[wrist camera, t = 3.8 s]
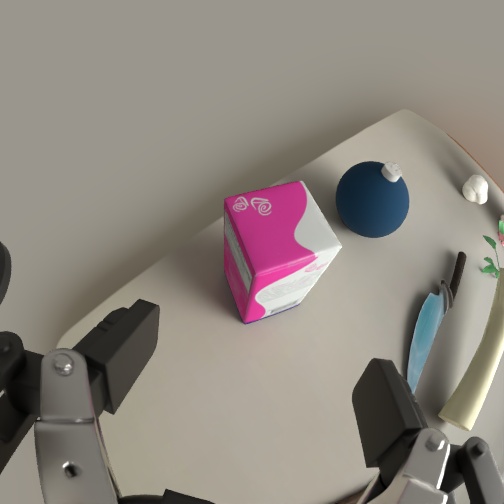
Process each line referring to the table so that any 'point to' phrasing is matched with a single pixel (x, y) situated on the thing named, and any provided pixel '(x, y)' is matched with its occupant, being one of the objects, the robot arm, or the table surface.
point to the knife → (431, 322)
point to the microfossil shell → (476, 189)
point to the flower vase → (480, 358)
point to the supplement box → (274, 248)
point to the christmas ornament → (372, 198)
